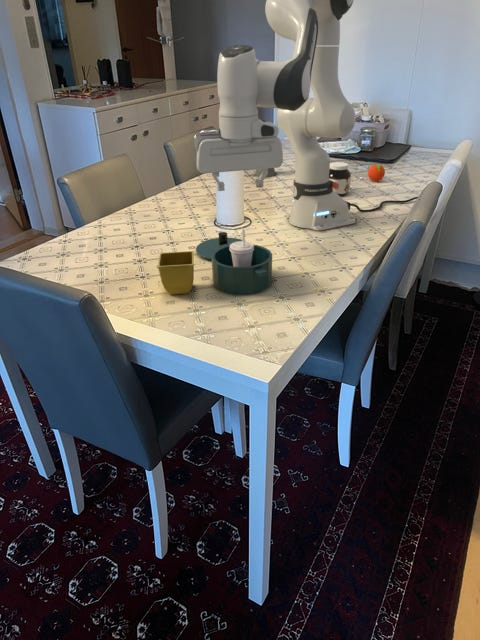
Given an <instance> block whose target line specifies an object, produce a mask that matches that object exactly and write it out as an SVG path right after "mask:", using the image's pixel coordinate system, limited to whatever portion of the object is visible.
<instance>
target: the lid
mask: <svg viewBox="0 0 480 640" xmlns="http://www.w3.org/2000/svg"><path fill="white" fill-rule="evenodd" d="M238 241H243V239H241V238H237V237H229V236H228V233H227V232H226V231H219V232H218V237H213V238H210V239H207V240H204V241H202V242H200V243H198V245H196V248H195V252H196V254H197V255H198V256H199V257H201V258H203V259H205V260H210V261H212V254H213V252H215V251H216V250H217V249H219V246H220V245H224V244H227V245H230V244H232V243H234V242H238Z"/></svg>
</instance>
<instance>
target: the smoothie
mask: <svg viewBox="0 0 480 640" xmlns="http://www.w3.org/2000/svg"><path fill="white" fill-rule="evenodd" d="M241 231H242V233H241V235H242V239H241V240H243V241H238V242H234V243H232V244H230V249H229V250H230V251H231V255H232V261H233V267H248V266H251V262H252V254H253V250H254V245H255V244H254V243H252V242H251V241H247V240H246V239H245V237H246V235H245V234H246V233H245V231H246V230H245V229H244V228H243V229H242V230H241Z"/></svg>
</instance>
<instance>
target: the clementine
mask: <svg viewBox="0 0 480 640" xmlns="http://www.w3.org/2000/svg"><path fill="white" fill-rule="evenodd" d="M385 175H386V171H385V168H384V167H383V165H381V164H373V165H371V166H370V168H369V169H368V171H367V176H368V179H369V180H370V181H372V182H379V181H381V180H382V179H383V178H384V177H385Z"/></svg>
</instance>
